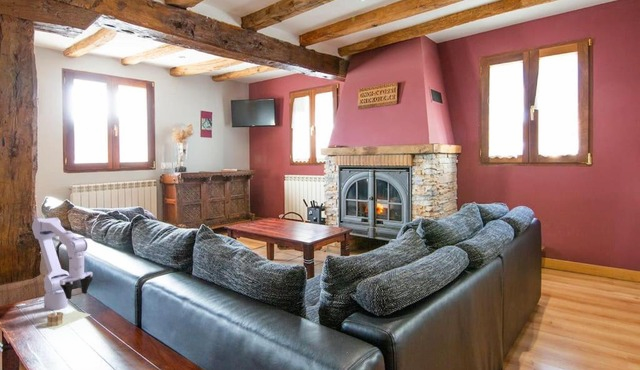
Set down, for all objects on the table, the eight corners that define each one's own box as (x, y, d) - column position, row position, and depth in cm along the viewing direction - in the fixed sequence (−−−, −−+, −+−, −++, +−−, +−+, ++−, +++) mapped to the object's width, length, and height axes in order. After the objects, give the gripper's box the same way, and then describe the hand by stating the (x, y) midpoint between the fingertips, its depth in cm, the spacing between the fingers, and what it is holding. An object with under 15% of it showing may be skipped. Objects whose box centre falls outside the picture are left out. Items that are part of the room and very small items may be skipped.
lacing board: (37, 327, 161) (37, 313, 161) (74, 313, 177) (75, 300, 177) (54, 332, 158) (54, 317, 158) (91, 317, 174) (91, 304, 174)
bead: (44, 324, 162) (44, 315, 161) (56, 320, 167) (56, 311, 166) (53, 327, 160) (53, 317, 160) (65, 322, 165) (65, 313, 165)
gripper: (68, 271, 165) (67, 302, 165) (97, 263, 178) (97, 292, 179) (56, 269, 167) (56, 300, 168) (86, 261, 181) (86, 290, 181)
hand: (76, 295), depth 174 cm, fingers open, 7 cm apart
